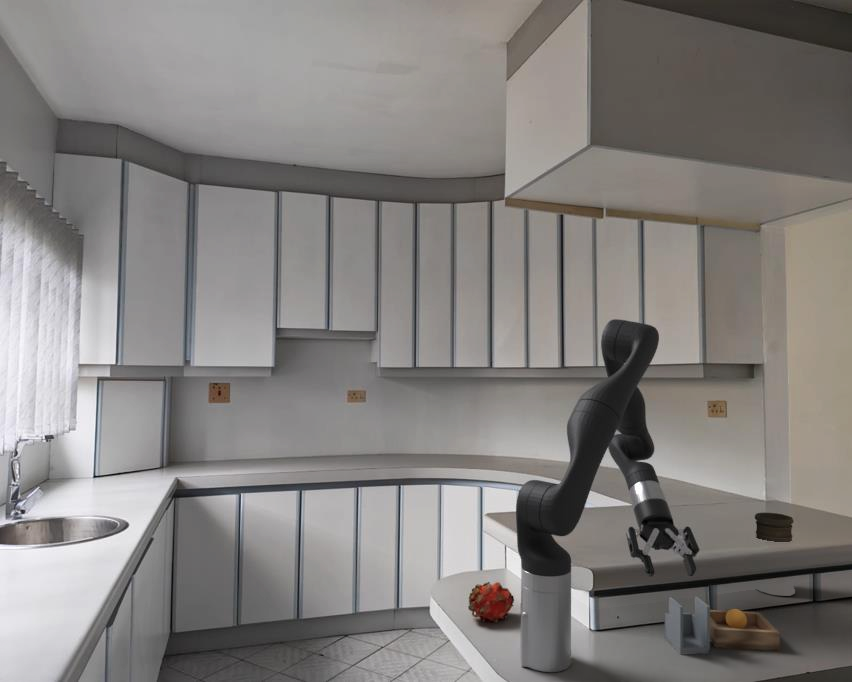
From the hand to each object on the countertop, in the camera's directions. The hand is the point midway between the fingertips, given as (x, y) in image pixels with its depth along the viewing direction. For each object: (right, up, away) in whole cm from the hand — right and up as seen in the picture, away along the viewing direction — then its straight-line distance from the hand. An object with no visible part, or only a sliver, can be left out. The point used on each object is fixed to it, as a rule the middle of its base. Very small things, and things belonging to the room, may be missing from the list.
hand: (672, 574), depth 135 cm
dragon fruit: (-37, -12, +6) cm, 39 cm away
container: (+34, -12, +24) cm, 43 cm away
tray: (+12, -12, -3) cm, 17 cm away
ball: (+13, -9, -1) cm, 15 cm away
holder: (0, -12, -7) cm, 13 cm away
